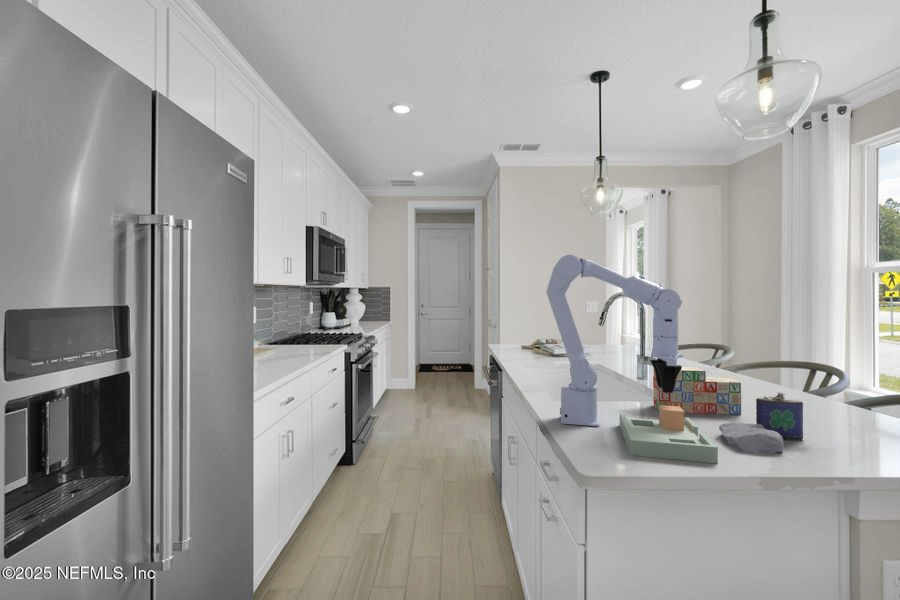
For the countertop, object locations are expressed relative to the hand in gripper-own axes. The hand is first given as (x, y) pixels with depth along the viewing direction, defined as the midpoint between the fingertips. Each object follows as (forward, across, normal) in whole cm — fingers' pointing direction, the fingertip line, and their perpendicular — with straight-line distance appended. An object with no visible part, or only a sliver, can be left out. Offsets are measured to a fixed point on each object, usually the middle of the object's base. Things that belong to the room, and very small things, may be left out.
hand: (665, 389), depth 107 cm
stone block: (+10, -8, -15) cm, 20 cm away
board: (+9, -12, +3) cm, 15 cm away
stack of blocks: (+10, +20, -12) cm, 25 cm away
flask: (+10, -2, -24) cm, 26 cm away
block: (+7, -7, 0) cm, 10 cm away
